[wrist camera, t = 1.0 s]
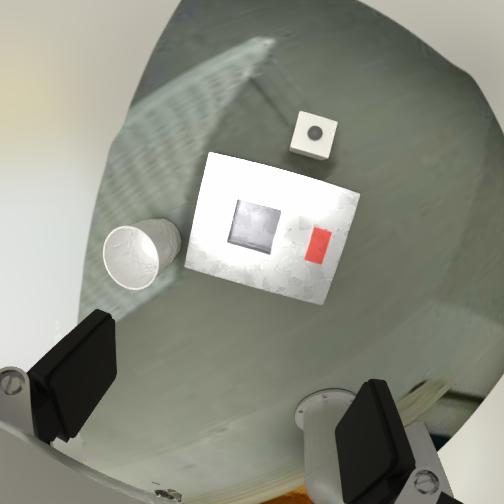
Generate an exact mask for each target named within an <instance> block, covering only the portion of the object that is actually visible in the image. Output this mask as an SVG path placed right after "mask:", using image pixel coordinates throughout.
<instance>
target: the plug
mask: <svg viewBox="0 0 504 504" xmlns="http://www.w3.org/2000/svg"><path fill="white" fill-rule="evenodd" d="M337 123H338V122H336V121H332V120H329V119H326V118H323V117H320V116H316V115H313V114H309V113H306V112H302V111H300V112H299V116H298V119H297V123H296V127H295V131H294V134H293V138H292V142H291V146H290V149H289V151H290V152H293V153H297V154H301V155H304V156H307V157H311V158H314V159H317V160H321V161H322V160H325V159H327V158H329V154H330V150H331V146H332V142H333V138H334V135H335V131H336V127H337Z"/></svg>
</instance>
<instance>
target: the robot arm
mask: <svg viewBox="0 0 504 504" xmlns="http://www.w3.org/2000/svg"><path fill="white" fill-rule="evenodd" d="M116 374H117V366H116V343H115V320H114V319H112V316H111V314H109V313H107V312H104V311H102V310H99V309H96V310H94V311H93V312H92V313H91V314H90V315H89V316H87V317H86V318H85V319H84V320H83V321H82V322H81V323H80V324H78V325H77V326H76V327H75V328H74V329H73V330H72V331H71V332H70V333H69V334H67V335H66V336H65V337H64V338H63V339H61V340H60V341H59V342H58V343H57V344H56V345H55V346H54V347H53V348H52V349H51V350H50V351H49V352H48V353H46V354H45V355H44V356H43V357H42V358H41V359H40V360H39V361H38V362H37V363H36V364H35V365H34V366H33V367H32V368H31V369H30V370H29V371H28V372H27V373H25V372H24V371H23V370H22V369H20V368H17V367H5V368H2V369H0V504H185V503H181V502H178V501H174V500H171V499H168V498H164V497H161V496H158V495H155V494H152V493H149V492H147V491H144V490H141V489H138V488H136V487H133V486H131V485H128V484H126V483H123V482H121V481H118V480H116V479H114V478H111V477H109V476H107V475H105V474H103V473H100V472H98V471H96V470H94V469H92V468H90V467H88V466H86V465H84V464H82V463H80V462H78V461H76V460H74V459H72V458H71V457H69V456H67V455H65V454H63V453H61V452H60V451H58V450H56V449H55V448H54V447H53V442H52V441H54V440H55V438H56V437H58V438H59V439H61V440H63V441H64V442H66V443H67V442H68V440H69V439H70V437H71V438H74V437H76V435H77V434H78V432H79V431H80V429H81V428H82V426H83V425H84V423H85V422H86V420H87V419H88V417H89V416H90V414H91V413H92V412H93V410H94V409H95V407H96V406H97V404H98V403H99V401H100V400H101V398H102V397H103V396H104V394H105V393H106V391H107V390H108V388H109V387H110V386H111V384H112V383H113V381H114V380H115V378H116ZM295 422H296V424H297V426H298V427H299V428H300V429H301V430H302V431H304V464H305V490H306V493H307V495H308V497H309V498H310V499H311V500H312V501H313V502H314V503H315V504H463V503H462V502H460V501H458V500H456V499H454V498H453V497H451V496H449V495H448V494H446V493H444V492H443V491H442V486H443V483H442V479H441V477H440V475H439V474H438V473H437V471H435V470H434V469H432V468H429V467H424V466H422V467H418V468H416V466H415V464H416V461H415V458H414V455H413V452H412V449H411V446H410V443H409V440H408V438H407V435H406V432H405V429H404V427H403V424H402V421H401V418H400V416H399V413H398V411H397V408H396V405H395V403H394V400H393V398H392V395H391V393H390V390H389V388H388V385H387V383H386V381H385V380H378V379H370V380H369V381H368V382H365V383H364V384H363V385H362V387H361V388H360V390H359V392H358V393H357V395H356V396H355V395H354V394H353V393H351V392H349V391H346V390H340V389H329V390H323V391H319V392H316V393H314V394H312V395H310V396H308V397H306V398H305V399H304V400H302V401H301V402H300V403H299V405H298V406H297V408H296V410H295Z"/></svg>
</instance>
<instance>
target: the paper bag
mask: <svg viewBox="0 0 504 504" xmlns="http://www.w3.org/2000/svg"><path fill="white" fill-rule="evenodd" d="M404 429H405V432H406V435H407V438H408V440H409V443H410V446H411V449H412V452H413V455H414V458H415V461H416V464H415V466H416V468H418V467H422V466H424V467H429V468H432V469H434V470H435V471H437V473H438V474H439V475H440V477H441V479H442V483H443V486H442V491H443V492H444V493H446V494H448V495H449V496H451V497H453V498H454V496H453V493H452V490H451V488H450V485H449V482H448V479H447V477H446V475H445V472H444V469H443V467H442V464H441V462H440V459H439V457H438V454H437V452H436V449H435V447H434V445H433V442H432V440H431V438H430V435H429V433H428V431H427V428H426V426H425V424H424V422H423V421H418V422H413V423H411V424H410V425H408V426H407V427H405V428H404Z"/></svg>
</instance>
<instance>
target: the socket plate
mask: <svg viewBox="0 0 504 504" xmlns="http://www.w3.org/2000/svg"><path fill="white" fill-rule="evenodd" d="M359 197H360V194H359V193H356V192H353V191H350V190H347V189H344V188H341V187H338V186H335V185H332V184H329V183H325V182H322V181H319V180H316V179H312V178H309V177H305V176H302V175H299V174H295V173H292V172H288V171H284V170H281V169H277V168H273V167H270V166H266V165H262V164H258V163H254V162H250V161H246V160H242V159H238V158H233V157H229V156H225V155H220V154H216V153H211V152H210V153H209V156H208V160H207V164H206V169H205V173H204V177H203V181H202V185H201V190H200V194H199V198H198V203H197V207H196V212H195V216H194V221H193V226H192V230H191V235H190V240H189V245H188V250H187V255H186V261H185V266H184V267H186V268H189V269H193V270H196V271H199V272H203V273H206V274H210V275H213V276H216V277H220V278H223V279H227V280H230V281H234V282H237V283H241V284H244V285H248V286H252V287H255V288H259V289H262V290H266V291H270V292H273V293H277V294H281V295H284V296H288V297H292V298H296V299H299V300H303V301H307V302H311V303H315V304H319V305H323V304H324V301H325V299H326V296H327V293H328V291H329V288H330V285H331V282H332V280H333V277H334V274H335V271H336V268H337V266H338V263H339V260H340V257H341V254H342V251H343V248H344V245H345V242H346V239H347V236H348V233H349V230H350V226H351V223H352V220H353V217H354V213H355V210H356V207H357V203H358V200H359Z"/></svg>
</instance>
